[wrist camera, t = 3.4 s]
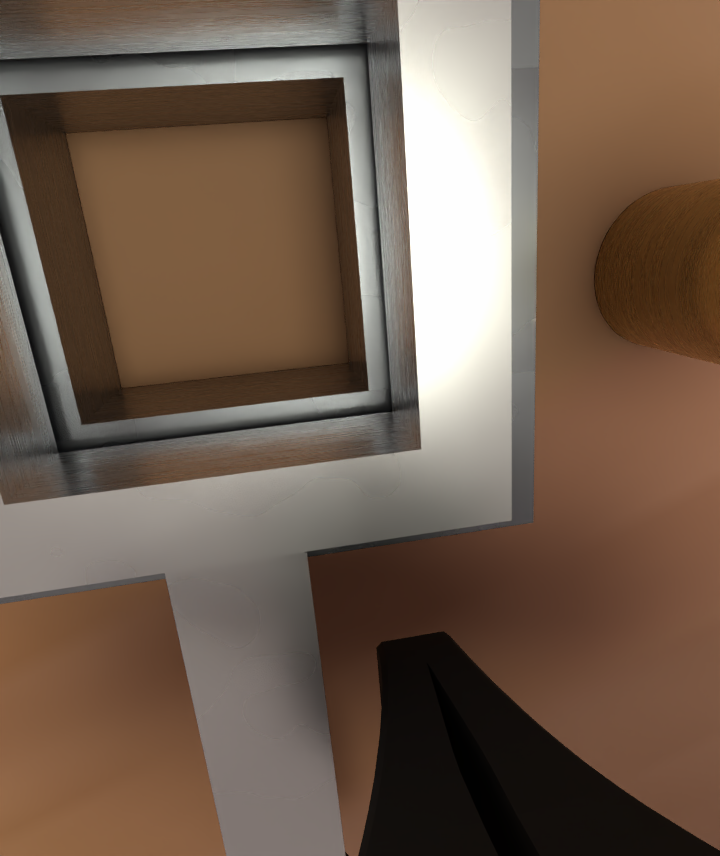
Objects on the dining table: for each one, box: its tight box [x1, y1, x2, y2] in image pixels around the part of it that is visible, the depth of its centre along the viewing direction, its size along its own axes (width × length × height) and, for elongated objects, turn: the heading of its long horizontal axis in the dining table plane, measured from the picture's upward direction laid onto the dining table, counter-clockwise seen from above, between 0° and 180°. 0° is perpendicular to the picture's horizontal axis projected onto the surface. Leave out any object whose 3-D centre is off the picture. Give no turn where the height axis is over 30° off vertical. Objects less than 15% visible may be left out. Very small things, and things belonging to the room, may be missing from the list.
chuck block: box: [0, 0, 540, 604], centre depth 9 cm, size 10×10×2 cm
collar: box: [0, 0, 512, 856], centre depth 8 cm, size 17×7×2 cm, turn 5°
